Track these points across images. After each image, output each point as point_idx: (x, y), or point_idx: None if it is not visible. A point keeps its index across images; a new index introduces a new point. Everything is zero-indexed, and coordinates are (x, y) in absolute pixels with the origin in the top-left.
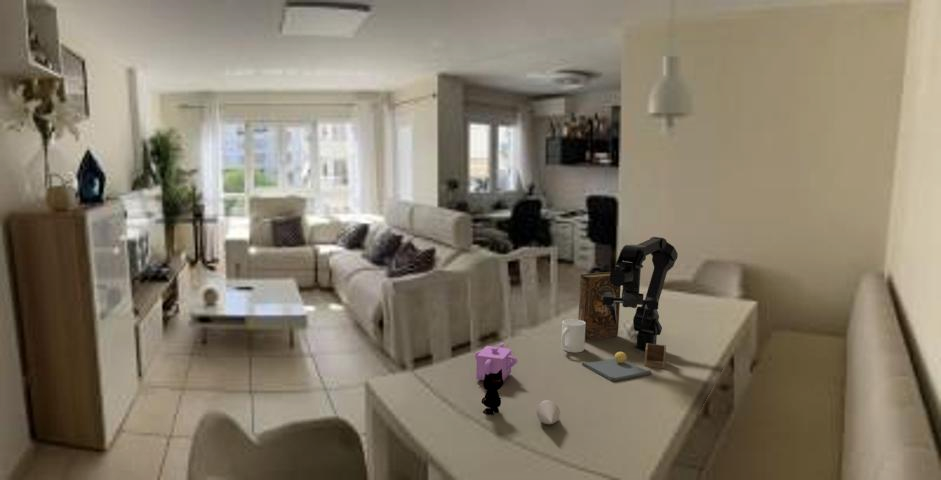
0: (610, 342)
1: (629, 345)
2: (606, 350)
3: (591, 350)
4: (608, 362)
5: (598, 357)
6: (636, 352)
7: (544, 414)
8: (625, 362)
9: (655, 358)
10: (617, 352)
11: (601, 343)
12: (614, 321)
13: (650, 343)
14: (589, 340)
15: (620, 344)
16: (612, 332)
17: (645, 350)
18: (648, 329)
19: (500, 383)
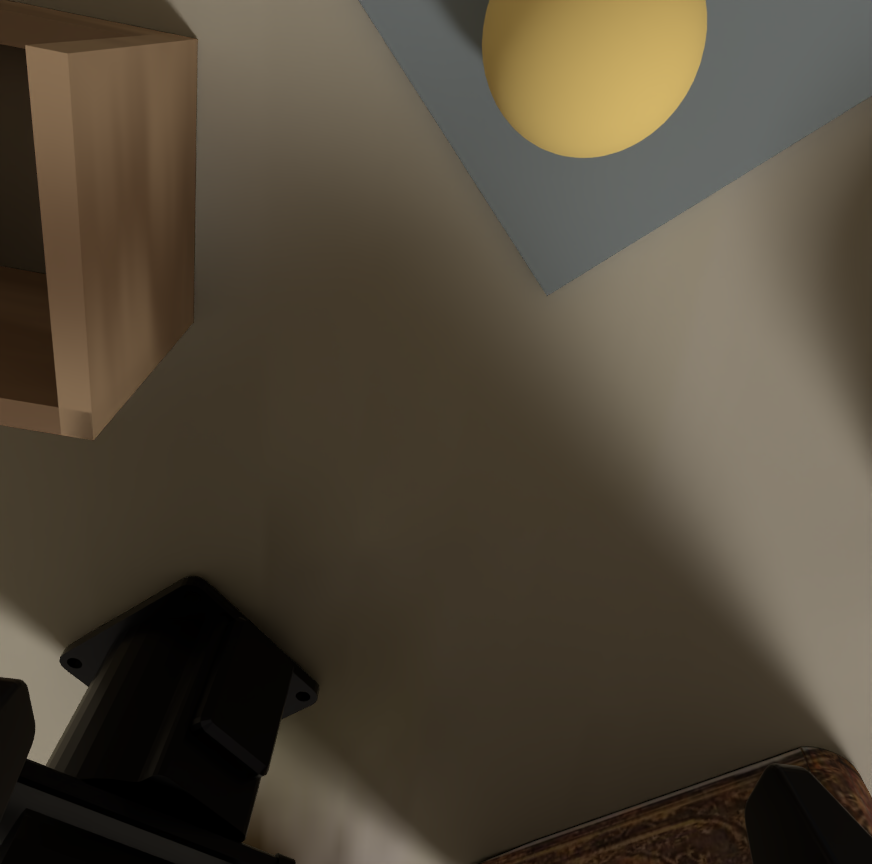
0: (552, 747)
1: (367, 704)
2: (649, 544)
3: (839, 517)
4: (770, 26)
5: (833, 287)
6: (302, 539)
7: None
8: (484, 89)
9: (38, 290)
10: (671, 58)
11: (654, 715)
12: (860, 837)
13: (122, 673)
14: (764, 761)
15: (457, 716)
16: None
17: (80, 52)
18: (56, 826)
19: None
